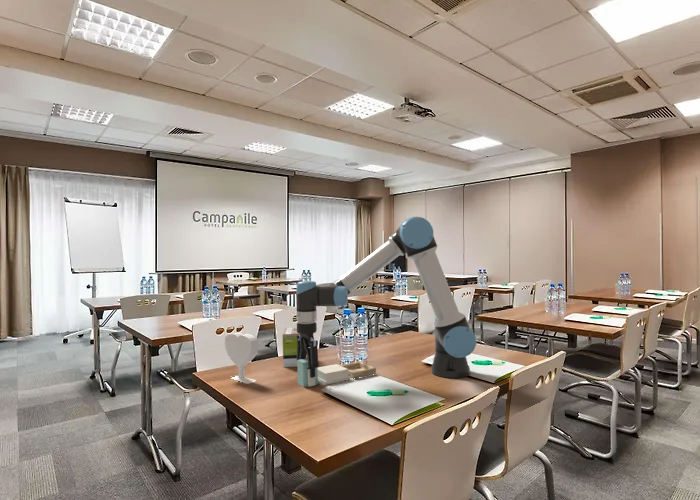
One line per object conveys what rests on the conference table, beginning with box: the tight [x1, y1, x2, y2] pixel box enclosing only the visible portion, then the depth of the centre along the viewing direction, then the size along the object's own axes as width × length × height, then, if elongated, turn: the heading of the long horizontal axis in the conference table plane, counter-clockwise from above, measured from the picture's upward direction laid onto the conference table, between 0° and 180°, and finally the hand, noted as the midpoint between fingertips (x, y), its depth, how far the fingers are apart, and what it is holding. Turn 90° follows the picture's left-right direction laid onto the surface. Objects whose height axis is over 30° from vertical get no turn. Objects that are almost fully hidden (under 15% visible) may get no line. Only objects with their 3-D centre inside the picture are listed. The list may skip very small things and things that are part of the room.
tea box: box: [282, 327, 300, 368], centre depth 183 cm, size 15×10×15 cm, turn 5°
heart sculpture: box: [224, 332, 259, 385], centre depth 159 cm, size 16×5×18 cm, turn 56°
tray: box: [341, 361, 377, 380], centre depth 164 cm, size 12×11×3 cm
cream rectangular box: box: [318, 363, 351, 386], centre depth 158 cm, size 10×12×4 cm
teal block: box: [296, 357, 319, 388], centre depth 152 cm, size 5×6×9 cm
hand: (307, 383), depth 152 cm, fingers open, 6 cm apart
